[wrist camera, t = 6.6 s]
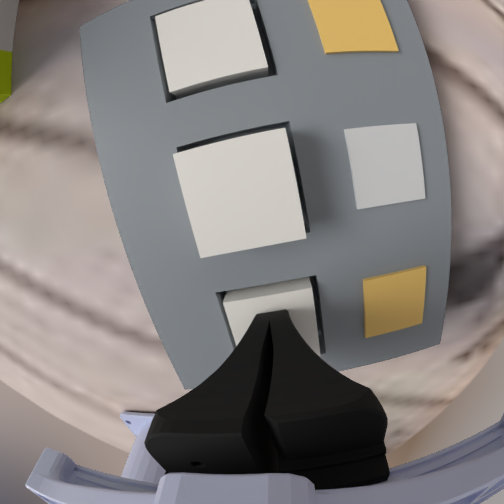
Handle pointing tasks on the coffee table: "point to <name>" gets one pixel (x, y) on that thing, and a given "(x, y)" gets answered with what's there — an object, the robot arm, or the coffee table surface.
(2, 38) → the puzzle toy
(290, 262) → the button board
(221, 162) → the button middle
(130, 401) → the coffee table surface
